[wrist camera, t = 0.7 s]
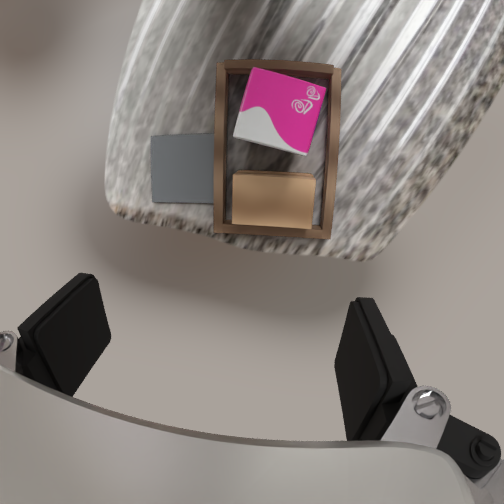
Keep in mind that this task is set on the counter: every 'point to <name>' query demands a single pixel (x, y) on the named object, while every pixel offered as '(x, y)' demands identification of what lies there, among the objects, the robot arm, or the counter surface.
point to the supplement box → (279, 111)
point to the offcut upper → (273, 200)
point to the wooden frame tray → (331, 145)
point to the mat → (182, 168)
